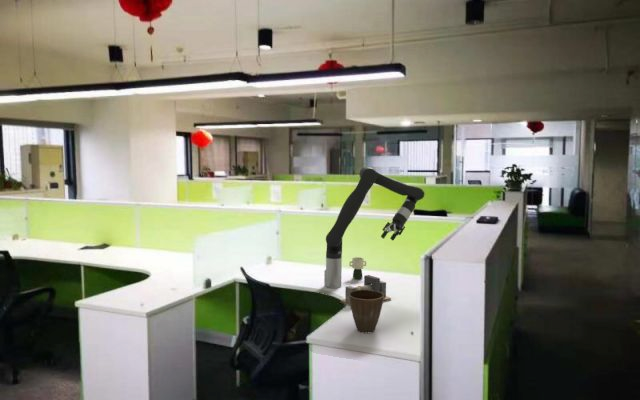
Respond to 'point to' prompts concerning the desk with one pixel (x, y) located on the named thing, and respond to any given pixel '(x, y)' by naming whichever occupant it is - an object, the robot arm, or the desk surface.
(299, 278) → the desk surface
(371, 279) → the gray notched block
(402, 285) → the desk surface
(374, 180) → the robot arm
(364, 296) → the plant pot
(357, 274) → the trophy cup
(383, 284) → the pipe stand
